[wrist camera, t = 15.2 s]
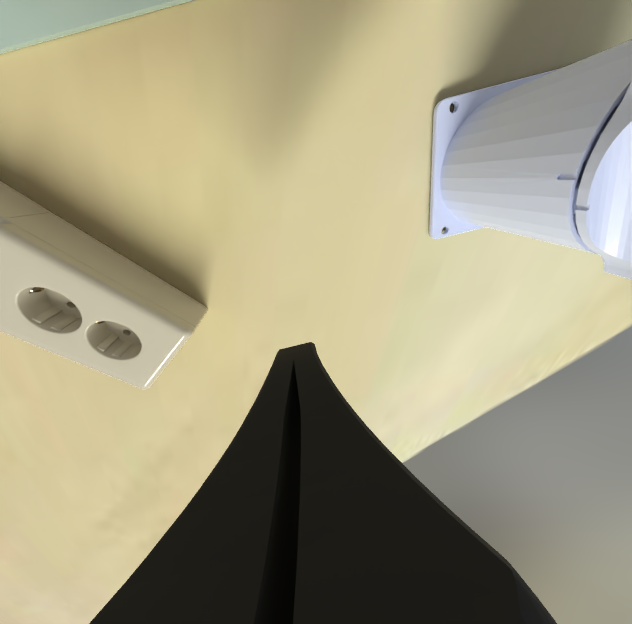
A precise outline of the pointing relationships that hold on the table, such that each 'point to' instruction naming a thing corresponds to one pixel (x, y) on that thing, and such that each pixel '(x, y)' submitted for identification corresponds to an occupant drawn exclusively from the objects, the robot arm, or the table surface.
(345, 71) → the table surface
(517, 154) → the robot arm
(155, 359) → the electrical outlet
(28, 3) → the sage mat
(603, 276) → the table surface
